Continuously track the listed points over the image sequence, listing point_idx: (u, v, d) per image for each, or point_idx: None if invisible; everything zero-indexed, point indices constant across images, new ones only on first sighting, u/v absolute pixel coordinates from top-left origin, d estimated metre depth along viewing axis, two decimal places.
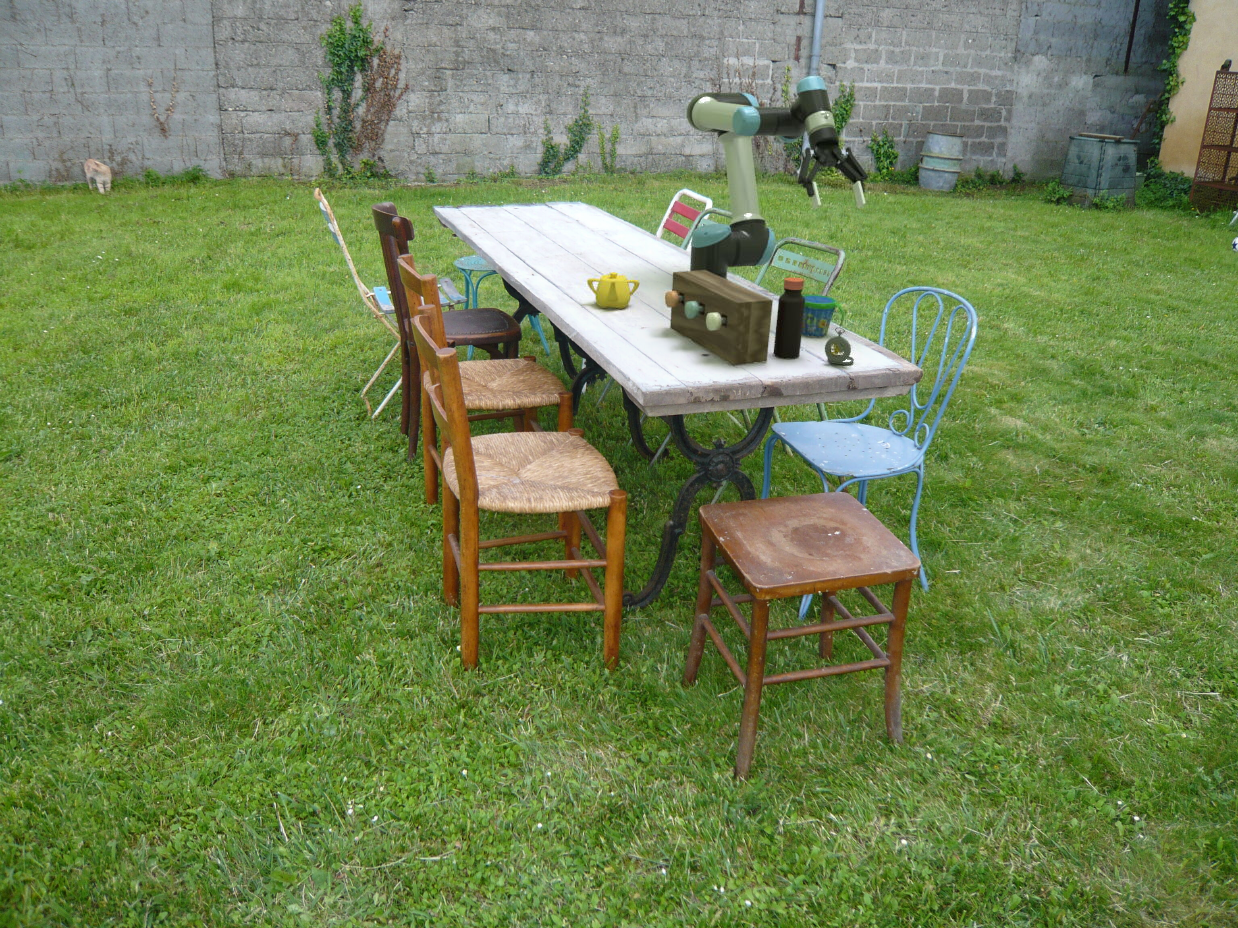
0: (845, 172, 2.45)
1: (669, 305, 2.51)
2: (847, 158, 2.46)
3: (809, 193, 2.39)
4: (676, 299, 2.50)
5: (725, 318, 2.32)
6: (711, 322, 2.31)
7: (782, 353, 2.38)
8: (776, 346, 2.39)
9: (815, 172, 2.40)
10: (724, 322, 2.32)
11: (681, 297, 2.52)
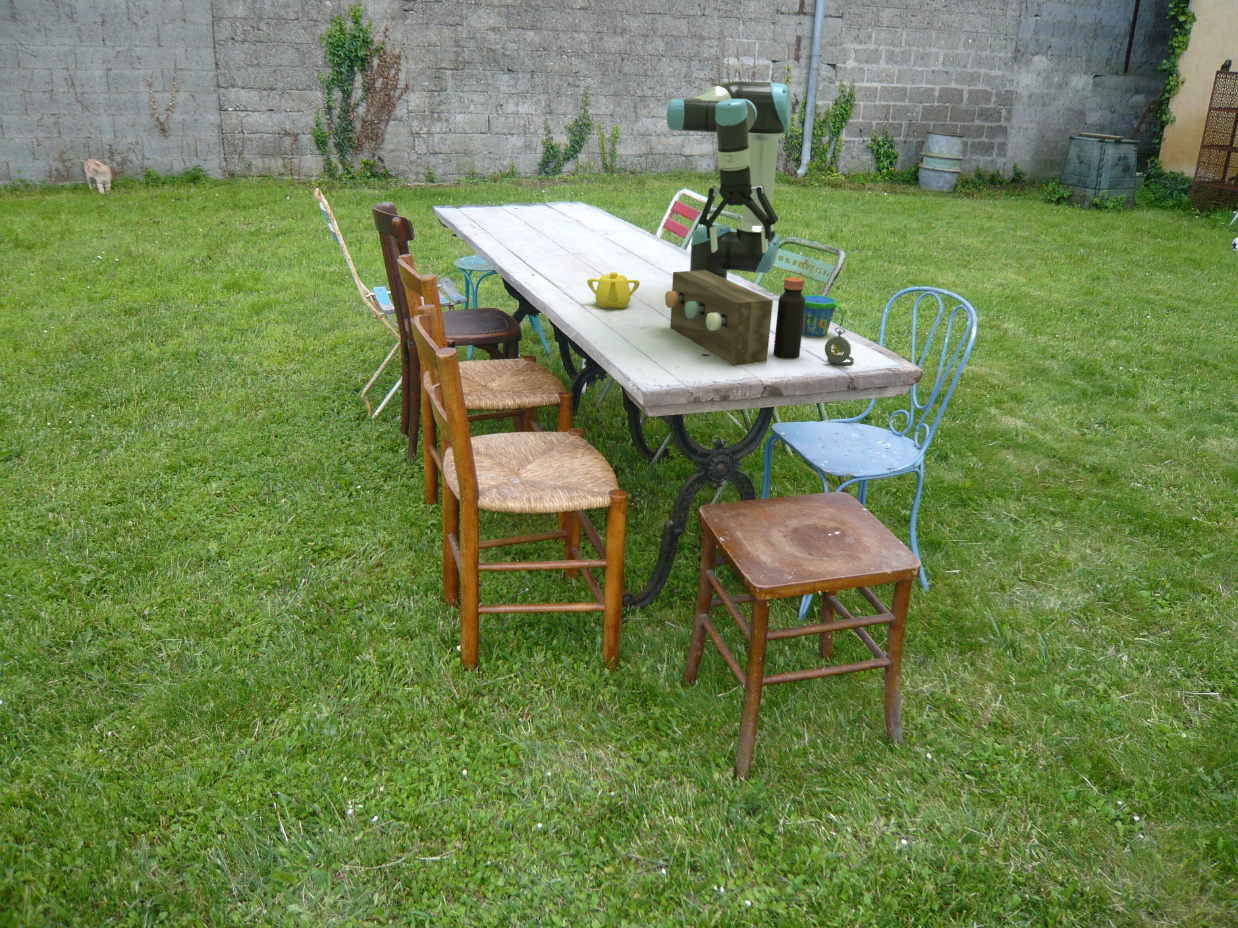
0: None
1: (669, 305, 2.51)
2: None
3: None
4: (676, 299, 2.50)
5: (725, 318, 2.32)
6: (711, 322, 2.31)
7: (782, 353, 2.38)
8: (776, 346, 2.39)
9: (714, 216, 2.34)
10: (724, 322, 2.32)
11: (681, 297, 2.52)
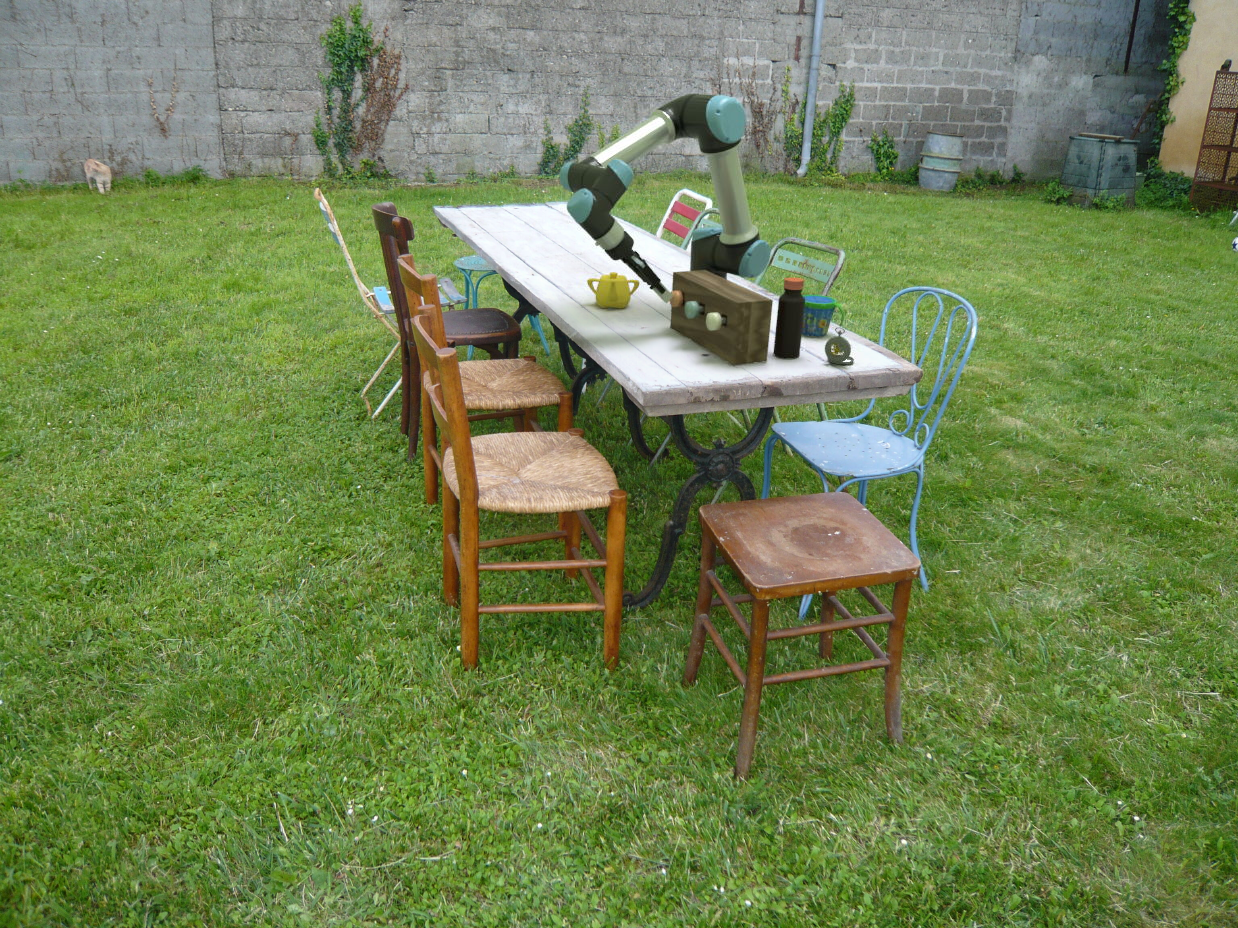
0: None
1: (673, 305, 2.52)
2: None
3: None
4: (680, 299, 2.50)
5: (725, 318, 2.32)
6: (711, 322, 2.31)
7: (782, 353, 2.38)
8: (776, 346, 2.39)
9: (641, 277, 2.47)
10: (724, 322, 2.32)
11: None
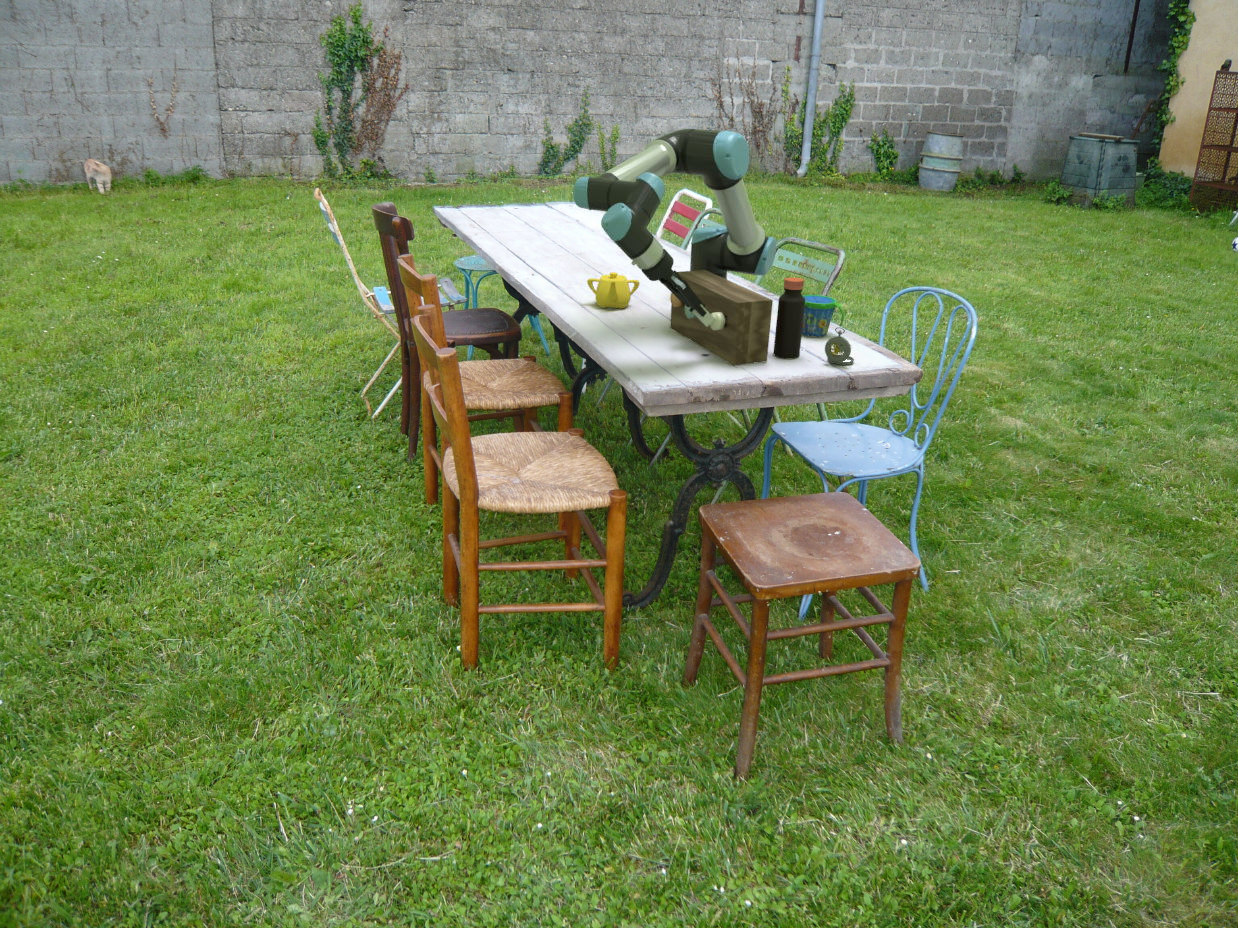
0: None
1: (674, 305, 2.52)
2: None
3: None
4: None
5: None
6: (714, 322, 2.31)
7: (782, 353, 2.38)
8: (776, 346, 2.39)
9: (680, 298, 2.27)
10: None
11: None
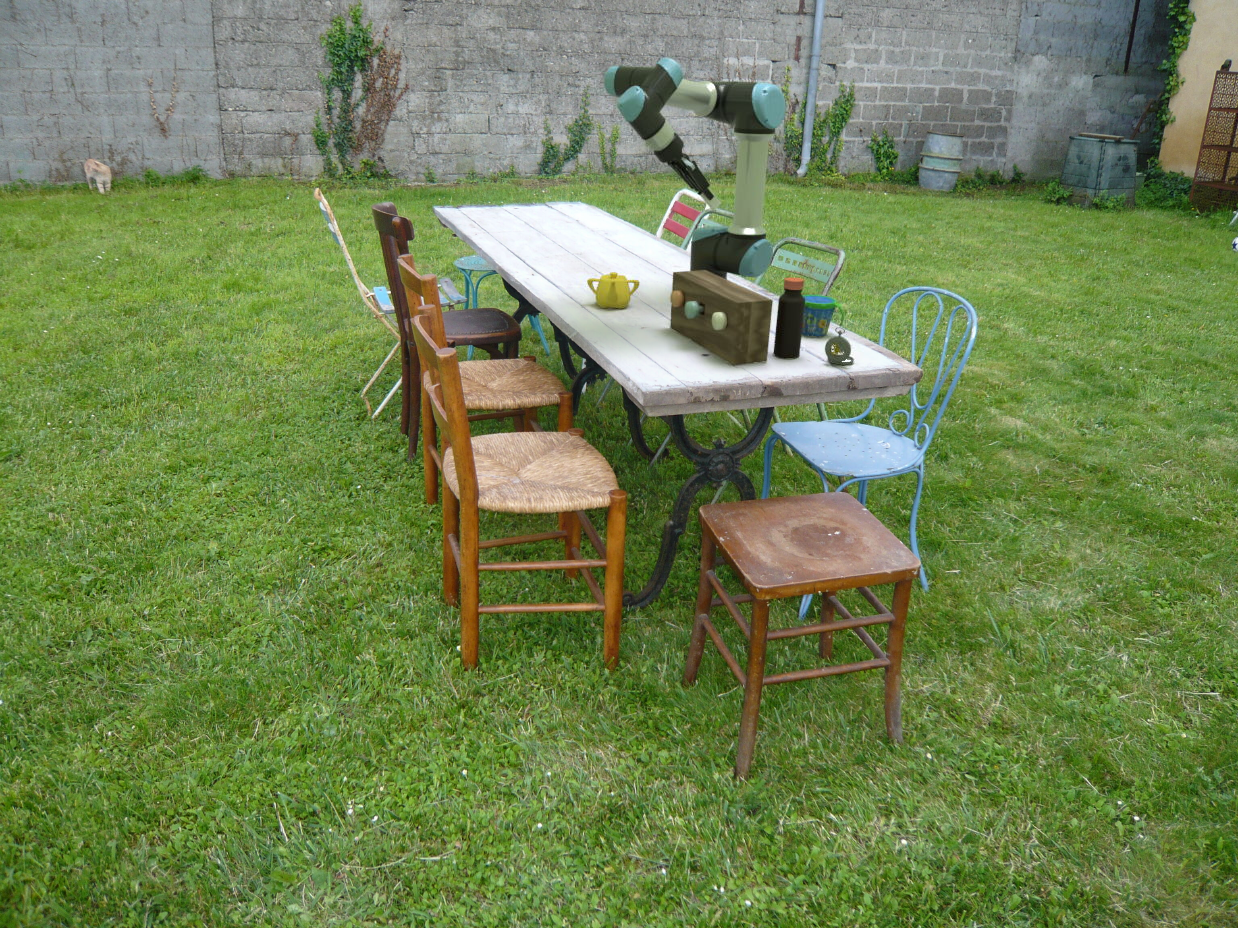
0: None
1: (674, 305, 2.52)
2: None
3: None
4: (681, 299, 2.51)
5: None
6: (717, 322, 2.31)
7: (782, 353, 2.38)
8: (776, 346, 2.39)
9: (689, 182, 2.44)
10: None
11: None
